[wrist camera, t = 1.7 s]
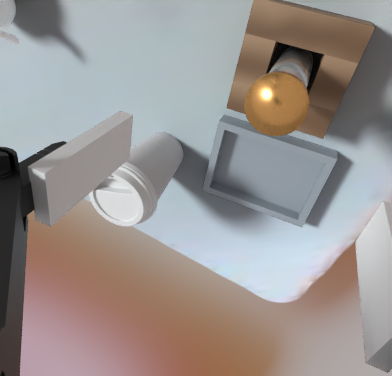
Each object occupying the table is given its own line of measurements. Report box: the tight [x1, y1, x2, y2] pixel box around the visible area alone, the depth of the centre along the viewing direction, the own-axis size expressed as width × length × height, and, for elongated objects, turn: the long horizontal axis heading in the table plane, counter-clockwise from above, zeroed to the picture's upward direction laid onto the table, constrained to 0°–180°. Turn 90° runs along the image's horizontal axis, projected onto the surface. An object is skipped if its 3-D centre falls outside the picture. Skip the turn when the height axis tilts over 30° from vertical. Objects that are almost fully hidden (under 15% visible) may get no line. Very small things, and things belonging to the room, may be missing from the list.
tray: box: [202, 115, 337, 227], centre depth 47 cm, size 12×16×2 cm
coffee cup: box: [89, 132, 184, 226], centre depth 46 cm, size 10×10×15 cm
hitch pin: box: [244, 46, 313, 136], centre depth 32 cm, size 5×5×17 cm
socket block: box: [227, 0, 375, 138], centre depth 37 cm, size 12×12×5 cm
